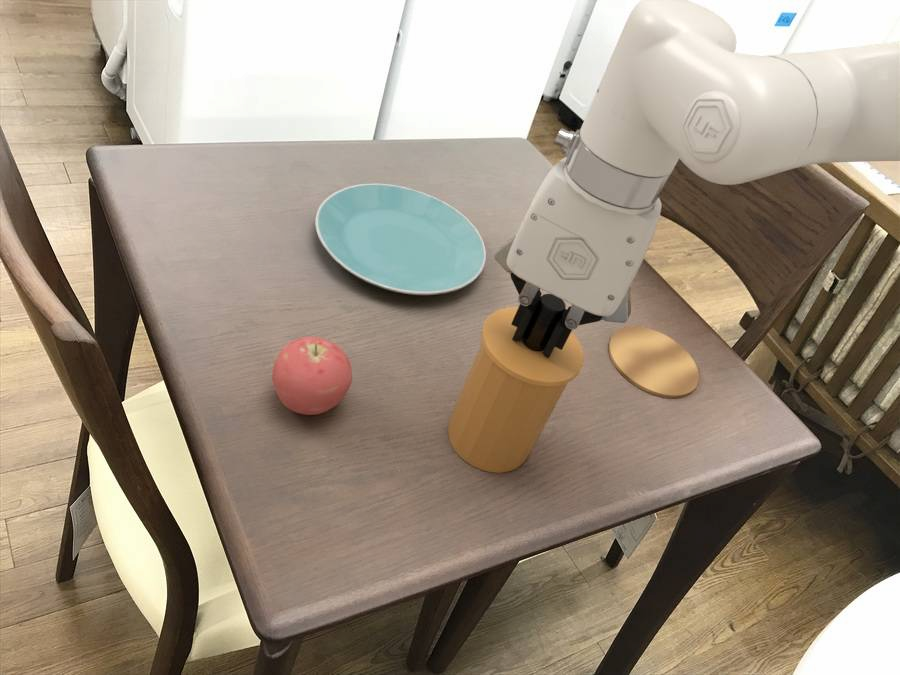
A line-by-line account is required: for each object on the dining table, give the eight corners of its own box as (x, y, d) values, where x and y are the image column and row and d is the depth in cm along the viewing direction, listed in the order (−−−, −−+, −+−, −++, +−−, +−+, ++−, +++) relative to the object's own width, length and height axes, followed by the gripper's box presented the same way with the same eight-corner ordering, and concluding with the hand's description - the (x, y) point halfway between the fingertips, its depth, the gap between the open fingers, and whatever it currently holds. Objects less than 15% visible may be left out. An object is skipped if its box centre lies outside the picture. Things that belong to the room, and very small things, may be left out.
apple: (252, 397, 75) (260, 339, 70) (305, 364, 80) (317, 308, 75) (305, 443, 73) (318, 387, 68) (357, 406, 78) (373, 351, 73)
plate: (491, 320, 94) (498, 303, 92) (308, 294, 88) (312, 275, 86) (470, 215, 110) (475, 199, 108) (314, 188, 104) (317, 170, 102)
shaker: (544, 447, 81) (594, 359, 72) (491, 487, 75) (538, 396, 66) (485, 394, 84) (525, 303, 76) (430, 428, 79) (467, 334, 70)
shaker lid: (598, 364, 73) (625, 317, 69) (537, 407, 66) (563, 357, 62) (523, 303, 76) (544, 255, 72) (458, 337, 70) (477, 286, 66)
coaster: (713, 374, 98) (715, 371, 98) (667, 412, 90) (669, 410, 90) (639, 317, 103) (641, 314, 102) (590, 350, 95) (591, 347, 95)
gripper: (505, 143, 57) (441, 322, 69) (707, 238, 55) (604, 406, 67) (537, 111, 62) (472, 282, 74) (720, 196, 60) (623, 358, 72)
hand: (535, 339), depth 70 cm, fingers closed on shaker lid, 2 cm apart
